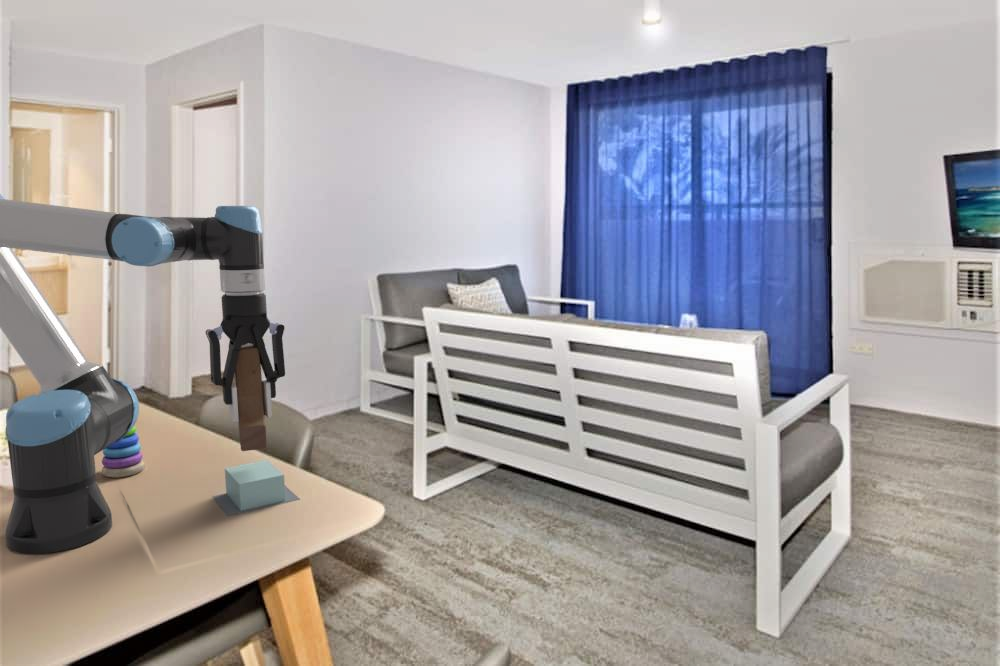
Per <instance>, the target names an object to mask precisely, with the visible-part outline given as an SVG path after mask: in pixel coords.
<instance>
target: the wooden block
mask: <svg viewBox="0 0 1000 666" xmlns="http://www.w3.org/2000/svg"><path fill="white" fill-rule="evenodd" d="M262 377H263V376H262V366H261V362H260V354H259V351H258V349H257V347H256V346H254V345H253V344H249V343H248V344H245V345H241V349H240V351H239V355H238V359H237V364H236V369H235V373H234V380H235V387H237V402H238V418H239V422H237V423H238V434H239V444H240V445H239V446H240V450H241V451H242V452H248V451H255V450H264V449H265V450H266V449H268V439H267V438H268V437H267V426H266V424H267V423H266V418H265V417H266V416H265V415H264V406H263V392H262Z"/></svg>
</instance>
